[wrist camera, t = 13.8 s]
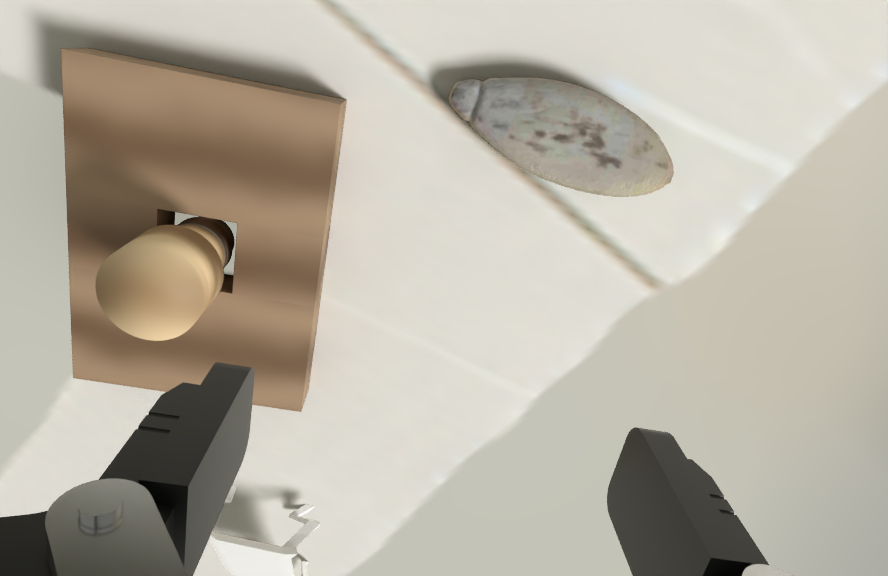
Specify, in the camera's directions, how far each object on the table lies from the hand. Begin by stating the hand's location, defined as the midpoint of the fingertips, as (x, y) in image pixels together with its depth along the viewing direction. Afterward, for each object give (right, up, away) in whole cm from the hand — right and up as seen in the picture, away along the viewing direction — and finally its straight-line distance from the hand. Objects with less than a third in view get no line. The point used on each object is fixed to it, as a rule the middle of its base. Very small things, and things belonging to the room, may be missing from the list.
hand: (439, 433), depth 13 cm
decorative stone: (+8, +14, +28) cm, 32 cm away
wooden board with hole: (-16, +6, +29) cm, 34 cm away
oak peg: (-16, +6, +29) cm, 34 cm away
